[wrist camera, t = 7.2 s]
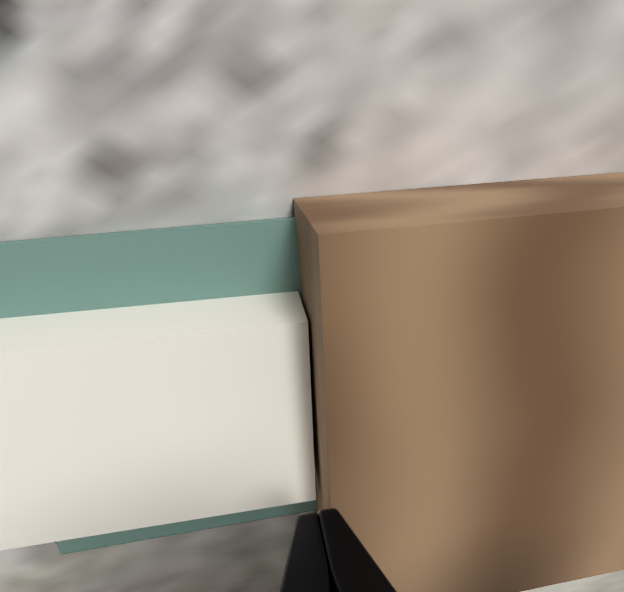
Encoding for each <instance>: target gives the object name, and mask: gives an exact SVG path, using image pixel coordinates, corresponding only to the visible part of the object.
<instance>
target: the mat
mask: <svg viewBox="0 0 624 592" xmlns="http://www.w3.org/2000/svg"><path fill="white" fill-rule="evenodd" d="M293 291H298V293H299V296H300V299H301V287H300V272H299V258H298V243H297V229H296V219H295V217H288V218H277V219H265V220H253V221H241V222H229V223H218V224H206V225H194V226H182V227H170V228H158V229H147V230H135V231H123V232H111V233H99V234H88V235H76V236H64V237H52V238H40V239H29V240H17V241H5V242H0V318H11V317H22V316H33V315H44V314H55V313H65V312H76V311H87V310H98V309H109V308H120V307H130V306H141V305H152V304H163V303H174V302H185V301H196V300H206V299H217V298H228V297H239V296H250V295H261V294H271V293H282V292H293ZM313 510H316V506H315V500H313V501H307V502H301V503H295V504H288V505H282V506H276V507H269V508H263V509H257V510H251V511H244V512H238V513H232V514H226V515H219V516H213V517H207V518H201V519H194V520H188V521H182V522H176V523H169V524H163V525H157V526H151V527H144V528H138V529H132V530H126V531H119V532H113V533H107V534H101V535H94V536H88V537H82V538H76V539H69V540H63V541H57V542H56V544H57V546H58V548H59V551H60V553H61V554H67V553H72V552H78V551H84V550H90V549H95V548H101V547H107V546H112V545H118V544H124V543H130V542H135V541H141V540H147V539H153V538H158V537H164V536H170V535H175V534H181V533H187V532H193V531H198V530H204V529H210V528H216V527H221V526H227V525H233V524H238V523H244V522H250V521H256V520H261V519H267V518H273V517H279V516H284V515H290V514H296V513H301V512H307V511H313Z"/></svg>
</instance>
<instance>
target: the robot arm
mask: <svg viewBox="0 0 624 592" xmlns="http://www.w3.org/2000/svg"><path fill="white" fill-rule="evenodd" d="M280 592H397V591H396V590H395V589H394V587H393V586H392V584H391V583H390V582H389V580H388V579H387V577H386V576H385V575H384V573H383V572H382V571H381V569H380V568H379V566H378V565H377V564H376V562H375V561H374V559H373V558H372V557H371V555H370V554H369V553H368V551H367V550H366V548H365V547H364V546H363V544H362V543H361V541H360V540H359V539H358V537H357V536H356V534H355V533H354V532H353V530H352V529H351V528H350V526H349V525H348V523H347V522H346V521H345V519H344V518H343V516H342V515H341V514H340V512H339V511H338V510H337V509H336V508H330V509H324V510H320V511H318V513H316V512H314V511H312V512H307V513H301V514H299V515H298V517H297V520H296V524H295V528H294V533H293V537H292V541H291V545H290V550H289V554H288V558H287V563H286V567H285V571H284V576H283V580H282V584H281V589H280Z"/></svg>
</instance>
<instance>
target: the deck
mask: <svg viewBox="0 0 624 592" xmlns="http://www.w3.org/2000/svg"><path fill="white" fill-rule="evenodd" d="M293 201H294V216H295V219H296V229H297V243H298V258H299V272H300V287H301V302H302V305H303V308H304V311H305V314H306V317H307V320H308V333H309V355H310V378H311V400H312V422H313V444H314V466H315V489H316V500H315V506H316V510H315V512H316V513H318V511H320V510H324V509H330V508H336V509H337V510H338V511H339V512H340V514H341V515H342V516H343V518H344V519H345V521H346V522H347V523H348V525H349V526H350V528H351V529H352V530H353V532H354V533H355V534H356V536H357V537H358V539H359V540H360V541H361V543H362V544H363V546H364V547H365V548H366V550H367V551H368V553H369V554H370V555H371V557H372V558H373V559H374V561H375V562H376V564H377V565H378V566H379V568H380V569H381V571H382V572H383V573H384V575H385V576H386V577H387V579H388V580H389V582H390V583H391V584H392V586H393V587H394V589H395V590H396V591H397V592H520V591H525V590H530V589H534V588H539V587H544V586H548V585H553V584H558V583H562V582H567V581H572V580H577V579H581V578H586V577H591V576H595V575H600V574H605V573H609V572H614V571H619V570H624V172H622V173H609V174H597V175H584V176H571V177H559V178H546V179H533V180H521V181H508V182H496V183H483V184H470V185H458V186H445V187H432V188H420V189H407V190H394V191H382V192H369V193H356V194H344V195H331V196H318V197H306V198H293Z"/></svg>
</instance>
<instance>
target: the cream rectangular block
mask: <svg viewBox="0 0 624 592" xmlns="http://www.w3.org/2000/svg"><path fill="white" fill-rule="evenodd" d="M313 500H316V489H315V466H314V444H313V422H312V400H311V378H310V355H309V333H308V320H307V317H306V314H305V311H304V308H303V305H302V302H301V299H300V296H299V293H298V291H293V292H282V293H271V294H261V295H250V296H239V297H228V298H217V299H206V300H196V301H185V302H174V303H163V304H152V305H141V306H130V307H120V308H109V309H98V310H87V311H76V312H65V313H55V314H44V315H33V316H22V317H11V318H0V551H1V550H7V549H13V548H19V547H26V546H32V545H38V544H44V543H51V542H57V541H63V540H69V539H76V538H82V537H88V536H94V535H101V534H107V533H113V532H119V531H126V530H132V529H138V528H144V527H151V526H157V525H163V524H169V523H176V522H182V521H188V520H194V519H201V518H207V517H213V516H219V515H226V514H232V513H238V512H244V511H251V510H257V509H263V508H269V507H276V506H282V505H288V504H295V503H301V502H307V501H313Z"/></svg>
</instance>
